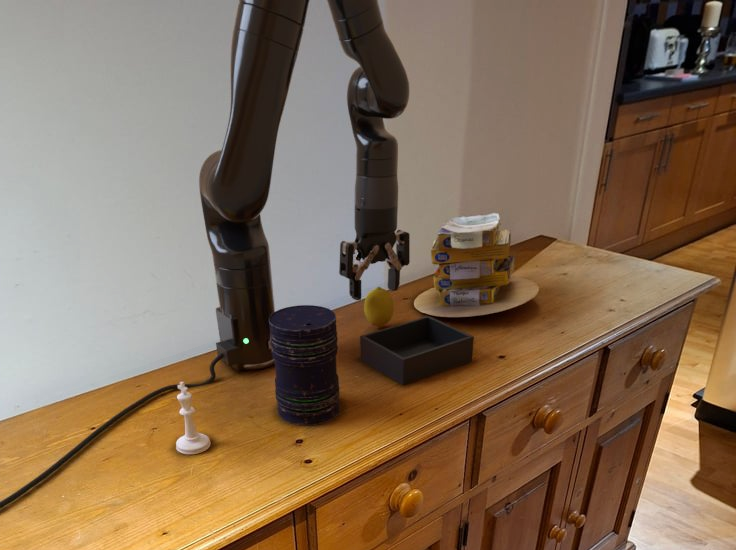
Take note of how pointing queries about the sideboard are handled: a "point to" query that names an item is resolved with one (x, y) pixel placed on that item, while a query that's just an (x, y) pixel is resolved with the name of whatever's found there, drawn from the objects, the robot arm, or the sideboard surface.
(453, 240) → the plate of stacked packets
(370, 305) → the lemon
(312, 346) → the storage jar
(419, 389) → the sideboard surface
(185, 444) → the chess piece
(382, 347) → the bin
